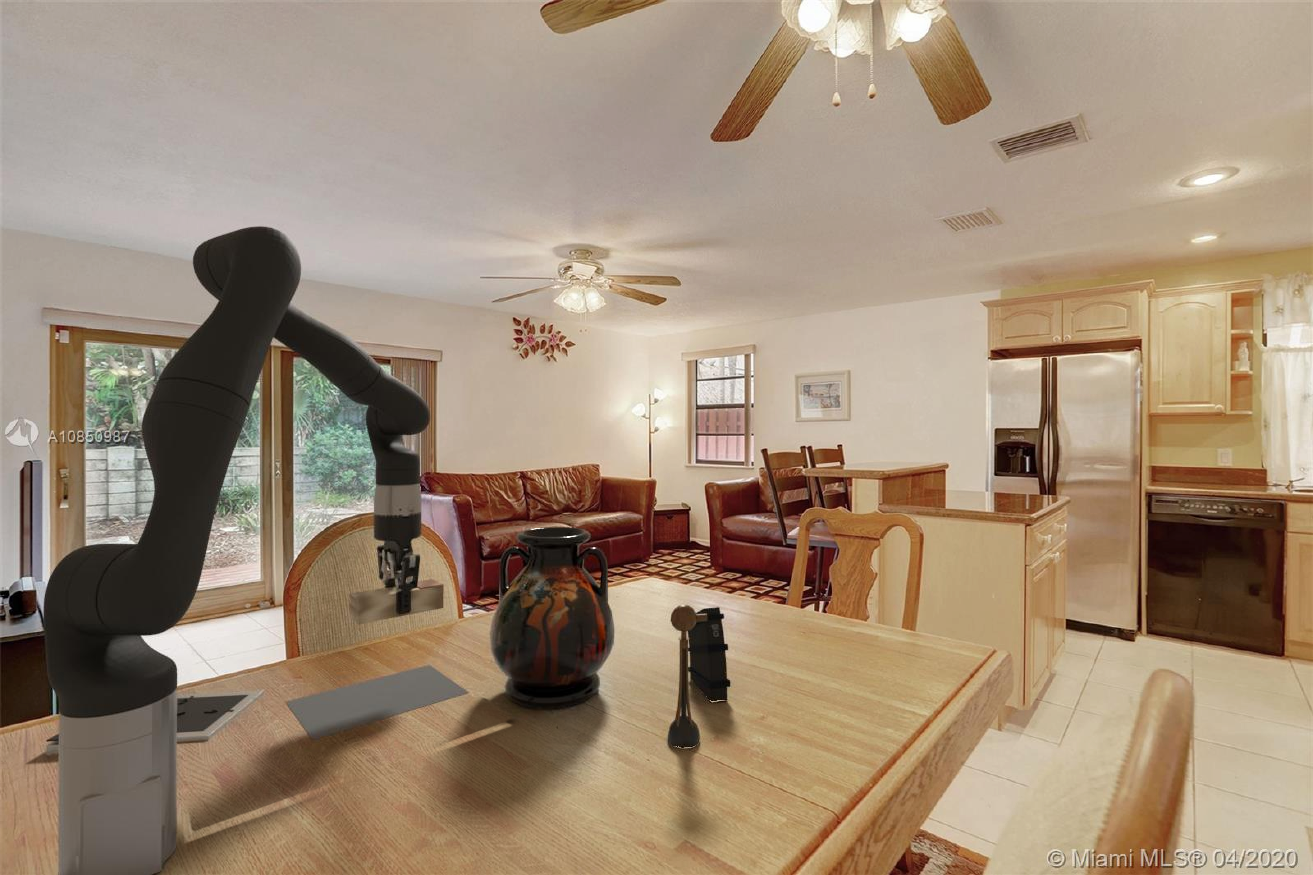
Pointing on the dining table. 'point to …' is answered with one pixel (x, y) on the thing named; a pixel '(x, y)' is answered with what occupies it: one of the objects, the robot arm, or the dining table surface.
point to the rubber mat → (372, 700)
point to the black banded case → (709, 655)
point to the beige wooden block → (394, 602)
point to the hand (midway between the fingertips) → (397, 609)
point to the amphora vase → (552, 620)
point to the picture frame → (199, 715)
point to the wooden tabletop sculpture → (684, 681)
